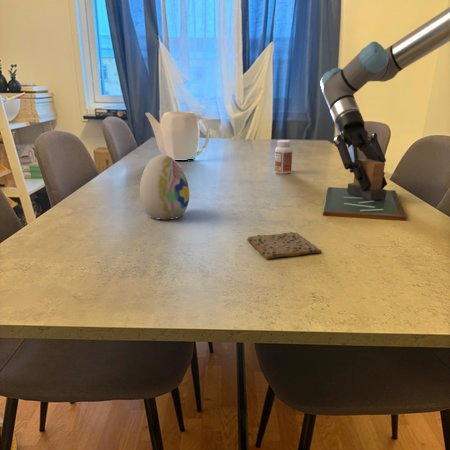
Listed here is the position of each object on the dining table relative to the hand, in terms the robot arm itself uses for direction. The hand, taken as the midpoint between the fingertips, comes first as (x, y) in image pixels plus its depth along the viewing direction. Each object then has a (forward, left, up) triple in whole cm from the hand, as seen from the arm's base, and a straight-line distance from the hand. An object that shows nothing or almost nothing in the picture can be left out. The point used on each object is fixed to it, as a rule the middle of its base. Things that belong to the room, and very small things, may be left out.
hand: (374, 187), depth 119 cm
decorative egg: (+52, +25, -4) cm, 58 cm away
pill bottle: (+30, -37, -4) cm, 48 cm away
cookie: (+20, +41, -4) cm, 46 cm away
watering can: (+77, -56, -4) cm, 95 cm away
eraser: (+2, -3, -3) cm, 5 cm away
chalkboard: (+3, +2, -4) cm, 5 cm away
